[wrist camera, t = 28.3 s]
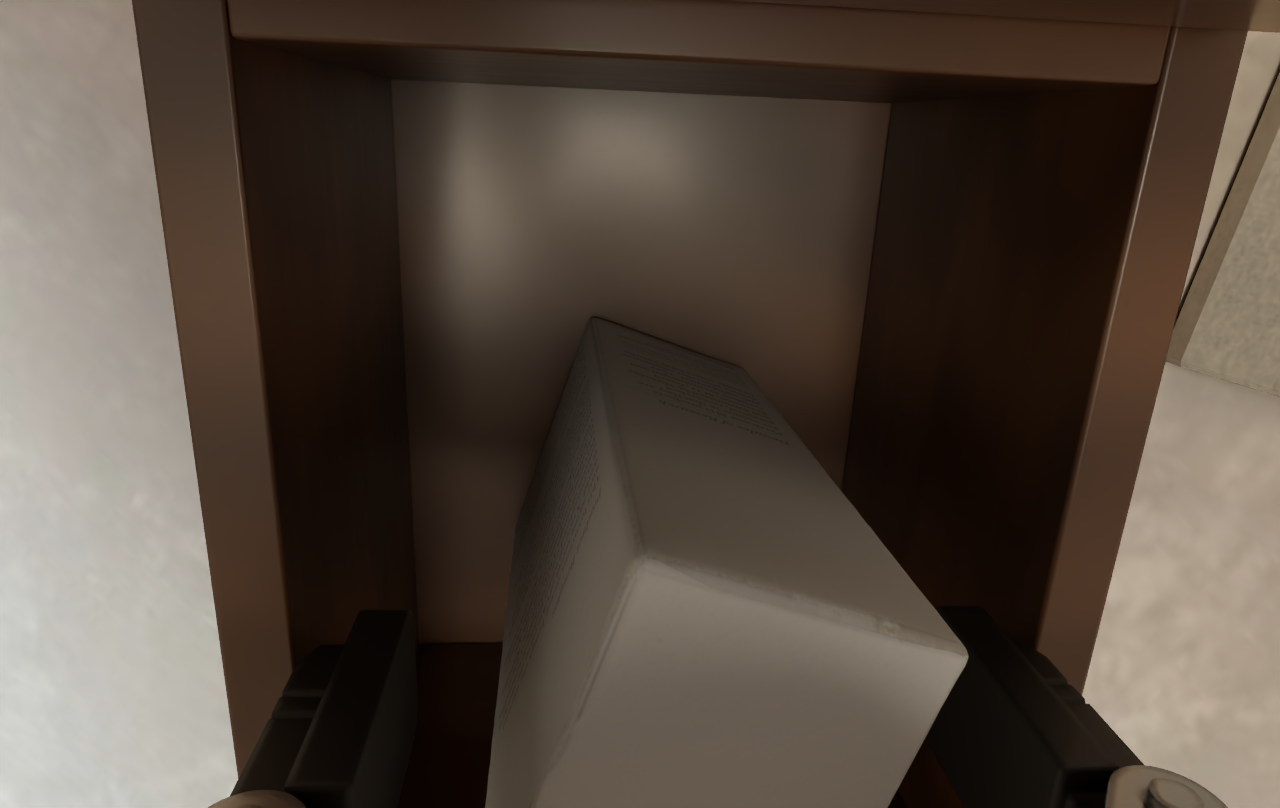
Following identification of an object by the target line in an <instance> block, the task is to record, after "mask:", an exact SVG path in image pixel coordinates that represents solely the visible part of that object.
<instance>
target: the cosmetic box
mask: <svg viewBox="0 0 1280 808" xmlns="http://www.w3.org/2000/svg"><path fill="white" fill-rule="evenodd" d="M968 657H969V656H968V653H967V650H966V648H965V647H964V645H963V644H962V642H961V641H960V640H959V639H958V638H957V636H956V635H955V634H954V633H953V631H952V630H951V629H950V628H949V626H948V625H947V624H946V622H945V621H944V620H943V619H942V617H941V616H940V615H939V613H938V612H937V611H936V609H935V608H934V607H933V606H932V604H931V603H930V602H929V601H928V600H927V598H926V597H925V596H924V595H923V594H922V592H921V591H920V590H919V589H918V587H917V586H916V585H915V584H914V582H913V581H912V580H911V579H910V577H909V576H908V575H907V573H906V572H905V571H904V570H903V568H902V567H901V566H900V565H899V563H898V562H897V561H896V559H895V558H894V557H893V556H892V554H891V553H890V552H889V551H888V549H887V548H886V547H885V546H884V544H883V543H882V542H881V541H880V539H879V538H878V537H877V535H876V534H875V533H874V531H873V530H872V528H871V527H870V526H869V525H868V524H867V523H866V522H865V521H864V519H863V518H862V517H861V515H860V514H859V513H858V511H857V510H856V509H855V507H854V506H853V505H852V504H851V502H850V501H849V500H848V499H847V498H846V497H845V495H844V494H843V493H842V491H841V490H840V489H839V488H838V486H837V485H836V484H835V483H834V481H833V480H832V479H831V478H830V476H829V475H828V474H827V473H826V471H825V470H824V469H823V467H822V466H821V465H820V463H819V462H818V461H817V460H816V458H815V457H814V456H813V455H812V453H811V452H810V451H809V450H808V448H807V447H806V446H805V444H804V443H803V442H802V441H801V439H800V438H799V437H798V436H797V434H796V433H795V432H794V431H793V429H792V428H791V427H790V426H789V424H788V423H787V422H786V420H785V419H784V418H783V416H782V415H781V414H780V413H779V412H778V410H777V409H776V408H775V406H774V405H773V404H772V402H771V401H770V400H769V399H768V398H767V396H766V395H765V394H764V393H763V391H762V390H761V389H760V388H759V386H758V385H757V384H756V382H755V381H754V380H753V379H752V377H751V376H750V375H749V374H748V372H747V371H746V370H745V369H742V368H740V367H738V366H736V365H733V364H729V363H726V362H723V361H720V360H716V359H713V358H710V357H707V356H704V355H702V354H699V353H696V352H693V351H691V350H688V349H685V348H682V347H680V346H677V345H674V344H671V343H669V342H666V341H663V340H660V339H657V338H654V337H651V336H648V335H646V334H643V333H640V332H637V331H634V330H631V329H628V328H626V327H623V326H620V325H617V324H614V323H611V322H609V321H606V320H603V319H599V318H591V319H590V320H589V322H588V324H587V327H586V330H585V332H584V335H583V338H582V341H581V344H580V346H579V349H578V352H577V355H576V358H575V360H574V363H573V366H572V369H571V372H570V374H569V377H568V380H567V383H566V386H565V389H564V391H563V394H562V397H561V400H560V403H559V406H558V408H557V411H556V414H555V417H554V420H553V422H552V425H551V428H550V431H549V434H548V436H547V439H546V442H545V445H544V448H543V451H542V454H541V456H540V459H539V462H538V465H537V468H536V471H535V474H534V477H533V479H532V482H531V485H530V488H529V491H528V494H527V496H526V499H525V502H524V505H523V508H522V511H521V514H520V516H519V519H518V522H517V524H516V527H515V534H514V546H513V554H512V562H511V570H510V579H509V590H508V599H507V607H506V619H505V629H504V638H503V649H502V658H501V666H500V675H499V685H498V694H497V703H496V711H495V718H494V730H493V738H492V748H491V760H490V768H489V776H488V787H487V796H486V804H485V808H888V806H889V804H890V802H891V800H892V799H893V797H894V795H895V793H896V791H897V789H898V787H899V786H900V784H901V782H902V780H903V778H904V776H905V774H906V773H907V771H908V769H909V767H910V765H911V763H912V762H913V760H914V758H915V756H916V754H917V752H918V750H919V749H920V747H921V745H922V743H923V741H924V739H925V737H926V736H927V734H928V732H929V730H930V728H931V726H932V724H933V722H934V720H935V718H936V716H937V715H938V713H939V711H940V709H941V707H942V705H943V704H944V702H945V700H946V698H947V697H948V695H949V693H950V691H951V689H952V688H953V686H954V684H955V682H956V681H957V679H958V677H959V676H960V674H961V672H962V671H963V669H964V667H965V665H966V663H967V660H968Z"/></svg>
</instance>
